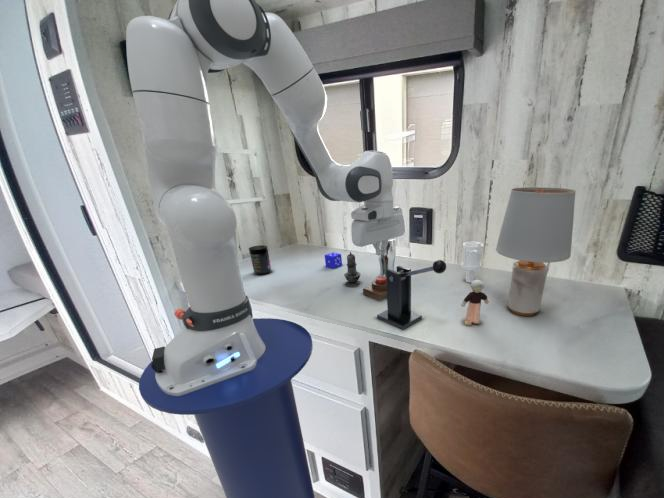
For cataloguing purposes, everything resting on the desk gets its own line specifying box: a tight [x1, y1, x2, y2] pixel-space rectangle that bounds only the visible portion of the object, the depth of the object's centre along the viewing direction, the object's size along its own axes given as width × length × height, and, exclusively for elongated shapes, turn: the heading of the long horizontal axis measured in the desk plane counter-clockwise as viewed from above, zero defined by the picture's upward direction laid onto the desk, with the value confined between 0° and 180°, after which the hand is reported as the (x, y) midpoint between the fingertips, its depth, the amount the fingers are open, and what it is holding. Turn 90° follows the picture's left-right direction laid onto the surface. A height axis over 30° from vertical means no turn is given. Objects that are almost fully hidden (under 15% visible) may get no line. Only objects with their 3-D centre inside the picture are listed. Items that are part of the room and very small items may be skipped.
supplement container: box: [248, 244, 273, 276], centre depth 122 cm, size 7×7×10 cm
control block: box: [362, 278, 387, 301], centre depth 104 cm, size 10×8×4 cm
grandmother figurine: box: [460, 279, 489, 326], centre depth 82 cm, size 8×4×13 cm, turn 114°
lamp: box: [495, 186, 577, 317], centre depth 84 cm, size 19×19×34 cm
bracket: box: [376, 265, 423, 331], centre depth 84 cm, size 10×8×15 cm
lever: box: [396, 259, 447, 280], centre depth 77 cm, size 17×3×3 cm, turn 48°
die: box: [324, 252, 343, 269], centre depth 130 cm, size 5×5×5 cm
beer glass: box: [377, 237, 397, 277], centre depth 115 cm, size 7×7×15 cm
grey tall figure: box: [343, 251, 361, 287], centre depth 110 cm, size 6×6×12 cm
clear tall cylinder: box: [460, 241, 484, 283], centre depth 110 cm, size 7×7×15 cm
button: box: [375, 275, 387, 284], centre depth 103 cm, size 4×4×2 cm
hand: (381, 254), depth 99 cm, fingers closed
